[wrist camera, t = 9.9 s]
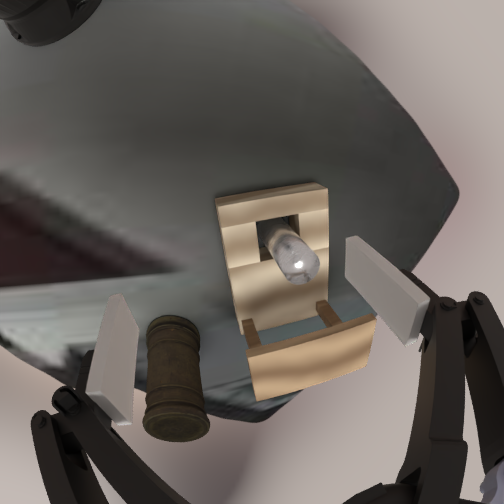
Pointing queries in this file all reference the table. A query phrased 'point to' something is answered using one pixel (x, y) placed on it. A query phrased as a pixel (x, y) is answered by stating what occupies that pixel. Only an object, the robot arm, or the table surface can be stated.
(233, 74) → the table surface
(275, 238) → the peg
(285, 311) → the socket station
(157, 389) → the container
